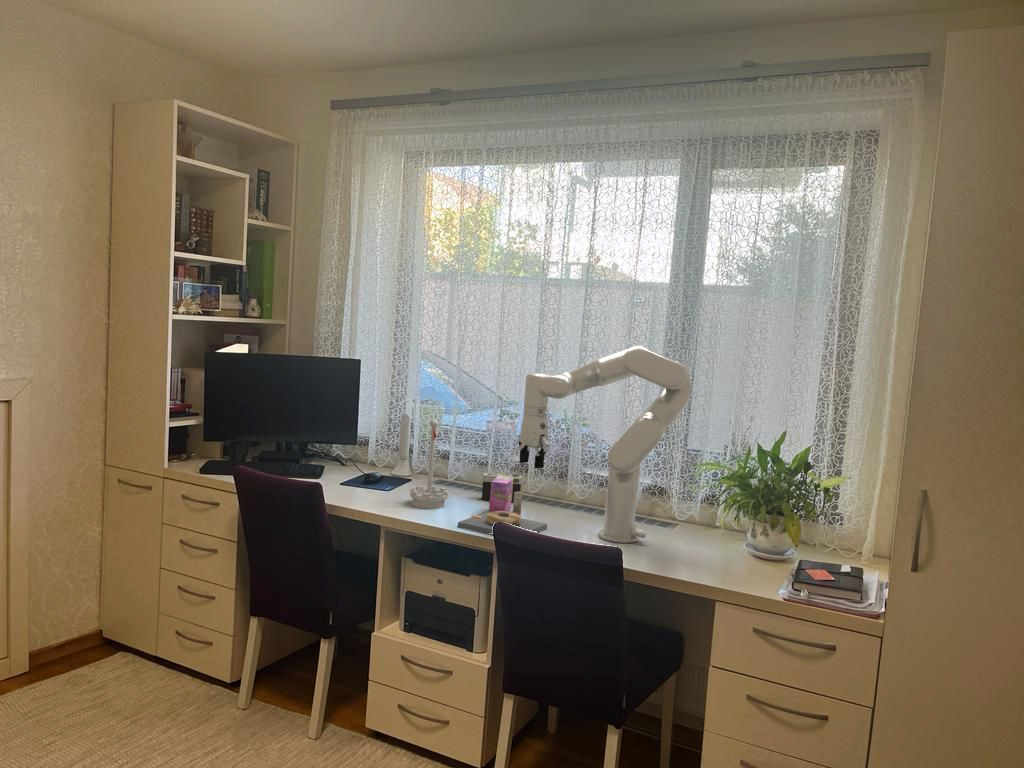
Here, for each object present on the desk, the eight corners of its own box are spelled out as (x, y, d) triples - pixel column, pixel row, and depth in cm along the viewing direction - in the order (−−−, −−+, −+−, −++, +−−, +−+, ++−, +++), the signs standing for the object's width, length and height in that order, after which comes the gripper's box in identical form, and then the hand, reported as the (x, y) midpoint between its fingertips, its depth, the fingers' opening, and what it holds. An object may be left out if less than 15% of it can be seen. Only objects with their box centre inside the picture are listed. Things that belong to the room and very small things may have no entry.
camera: (481, 503, 288) (483, 475, 287) (481, 498, 296) (483, 471, 295) (520, 505, 288) (522, 478, 287) (519, 500, 296) (521, 473, 296)
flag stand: (406, 500, 283) (411, 416, 281) (442, 500, 287) (448, 417, 285) (413, 509, 271) (419, 421, 268) (451, 509, 275) (457, 422, 272)
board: (549, 527, 261) (549, 521, 261) (519, 540, 243) (519, 534, 242) (489, 514, 272) (489, 509, 271) (456, 526, 253) (456, 520, 253)
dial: (510, 528, 248) (512, 502, 248) (479, 521, 254) (481, 496, 253) (533, 518, 262) (535, 494, 262) (503, 512, 268) (505, 489, 267)
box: (504, 517, 269) (507, 483, 268) (488, 515, 270) (490, 481, 269) (511, 511, 279) (513, 477, 278) (495, 509, 280) (497, 475, 279)
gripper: (560, 415, 252) (556, 470, 254) (530, 408, 267) (526, 459, 269) (540, 415, 249) (536, 471, 250) (511, 408, 263) (507, 460, 265)
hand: (531, 465), depth 259 cm, fingers open, 8 cm apart
